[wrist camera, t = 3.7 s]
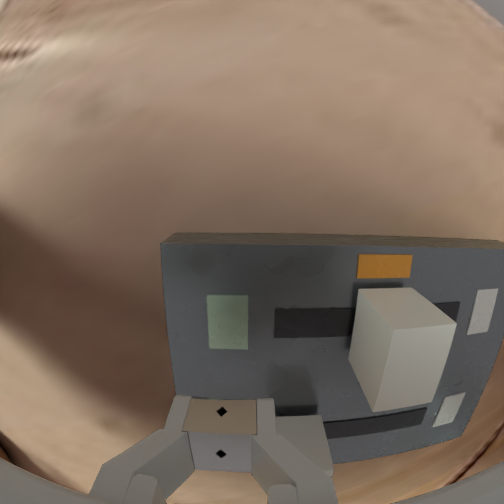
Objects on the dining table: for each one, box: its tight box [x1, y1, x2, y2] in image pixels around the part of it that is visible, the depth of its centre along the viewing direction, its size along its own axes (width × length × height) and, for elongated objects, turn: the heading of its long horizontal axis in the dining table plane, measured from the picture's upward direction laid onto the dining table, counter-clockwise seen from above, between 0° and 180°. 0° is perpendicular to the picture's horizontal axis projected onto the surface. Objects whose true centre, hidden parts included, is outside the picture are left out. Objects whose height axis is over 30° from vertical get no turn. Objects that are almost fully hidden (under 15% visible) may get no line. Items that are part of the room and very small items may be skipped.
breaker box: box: [160, 233, 504, 464], centre depth 18 cm, size 22×16×3 cm
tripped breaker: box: [348, 287, 457, 412], centre depth 13 cm, size 3×4×4 cm
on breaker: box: [276, 415, 334, 478], centre depth 15 cm, size 3×4×4 cm
